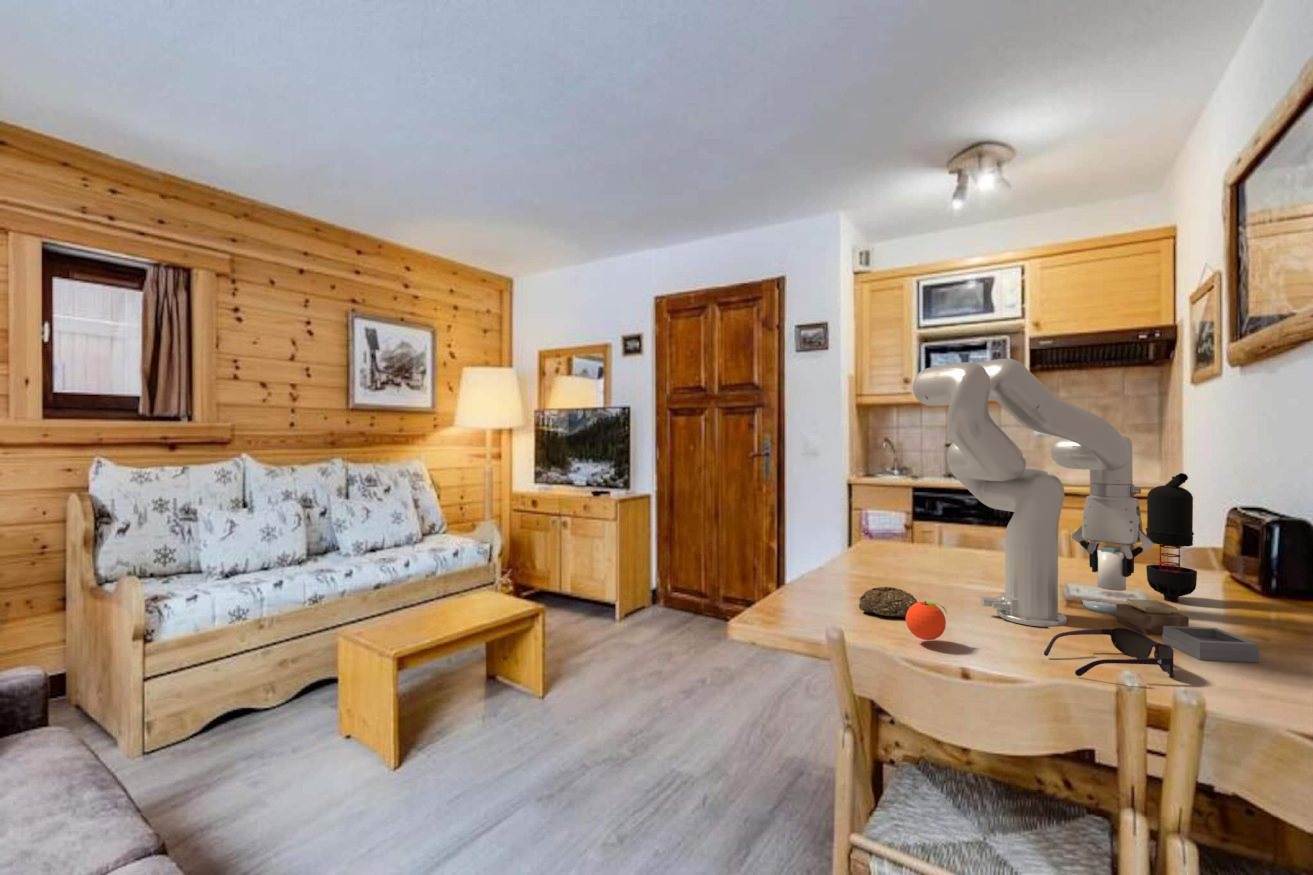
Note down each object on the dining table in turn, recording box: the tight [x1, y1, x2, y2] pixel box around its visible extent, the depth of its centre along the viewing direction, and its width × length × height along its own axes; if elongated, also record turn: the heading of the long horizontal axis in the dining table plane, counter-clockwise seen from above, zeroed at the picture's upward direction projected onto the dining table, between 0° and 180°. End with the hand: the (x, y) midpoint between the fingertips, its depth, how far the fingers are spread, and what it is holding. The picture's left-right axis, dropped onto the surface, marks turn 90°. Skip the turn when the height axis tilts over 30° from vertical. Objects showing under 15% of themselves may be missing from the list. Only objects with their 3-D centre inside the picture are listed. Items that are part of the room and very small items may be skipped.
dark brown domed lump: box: [858, 586, 918, 618], centre depth 132 cm, size 13×12×5 cm
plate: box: [1082, 599, 1116, 616], centre depth 131 cm, size 10×10×1 cm
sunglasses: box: [1043, 627, 1175, 678], centre depth 99 cm, size 14×16×5 cm
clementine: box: [905, 600, 948, 641], centre depth 112 cm, size 8×7×7 cm
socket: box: [1161, 626, 1260, 663], centre depth 105 cm, size 9×9×3 cm
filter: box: [1145, 472, 1198, 603], centre depth 139 cm, size 14×9×30 cm
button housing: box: [1115, 604, 1190, 635], centre depth 118 cm, size 8×8×4 cm
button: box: [1126, 598, 1178, 615], centre depth 118 cm, size 6×6×3 cm
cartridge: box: [1096, 544, 1127, 592], centre depth 131 cm, size 5×5×9 cm
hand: (1111, 572), depth 131 cm, fingers closed on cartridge, 5 cm apart
